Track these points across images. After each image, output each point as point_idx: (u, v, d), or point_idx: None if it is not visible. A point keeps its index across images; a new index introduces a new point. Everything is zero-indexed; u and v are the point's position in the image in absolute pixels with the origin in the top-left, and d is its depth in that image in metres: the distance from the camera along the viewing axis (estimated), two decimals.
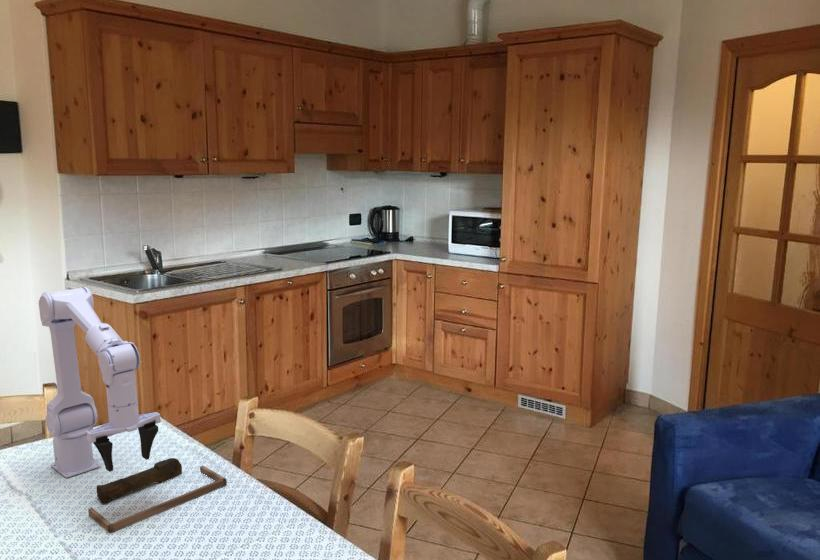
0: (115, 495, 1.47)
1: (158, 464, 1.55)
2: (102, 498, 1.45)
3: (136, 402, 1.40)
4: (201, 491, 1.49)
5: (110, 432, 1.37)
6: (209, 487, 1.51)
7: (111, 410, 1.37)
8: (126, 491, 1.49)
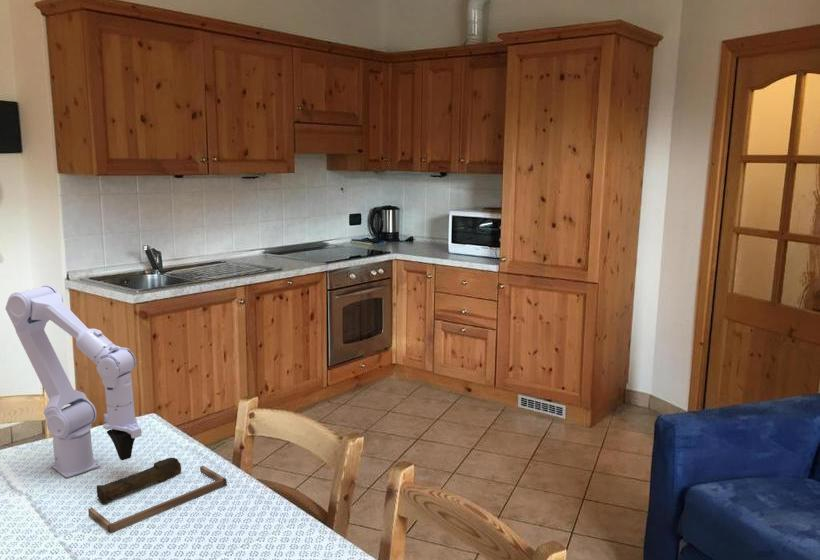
0: (115, 495, 1.47)
1: (158, 464, 1.55)
2: (103, 498, 1.45)
3: (115, 407, 1.52)
4: (201, 491, 1.49)
5: (106, 421, 1.57)
6: (209, 487, 1.51)
7: None
8: (126, 491, 1.49)
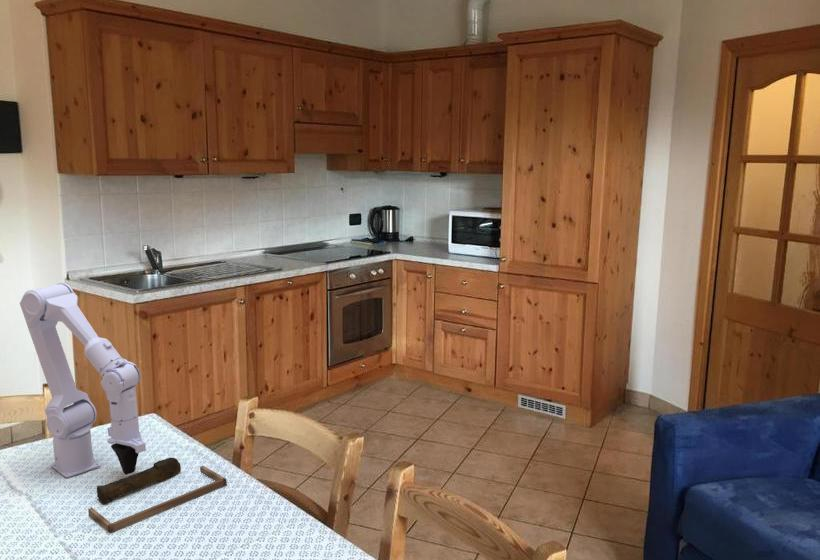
0: (116, 495, 1.47)
1: (157, 464, 1.55)
2: (103, 498, 1.45)
3: (120, 421, 1.52)
4: (201, 491, 1.49)
5: (110, 435, 1.56)
6: (209, 487, 1.51)
7: None
8: (126, 491, 1.49)
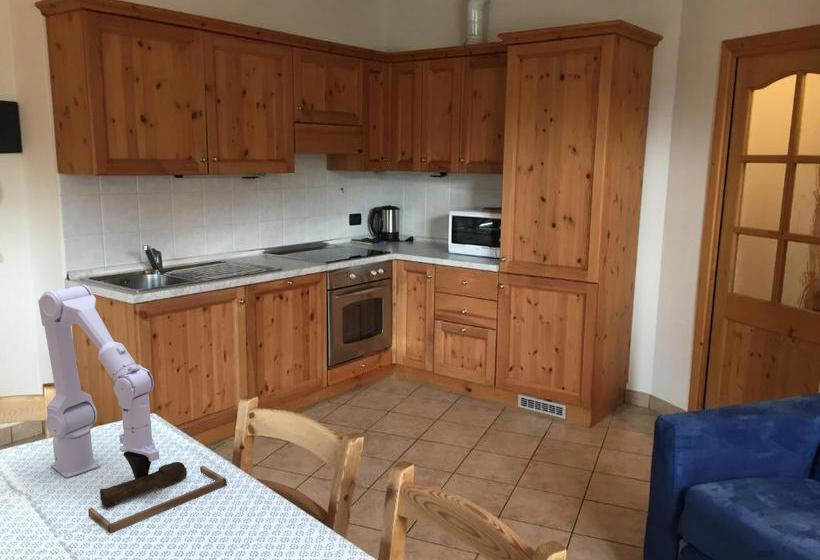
0: (118, 499, 1.45)
1: (163, 468, 1.53)
2: (105, 502, 1.43)
3: (132, 429, 1.48)
4: (201, 491, 1.49)
5: (122, 442, 1.52)
6: (209, 487, 1.51)
7: None
8: (130, 495, 1.47)
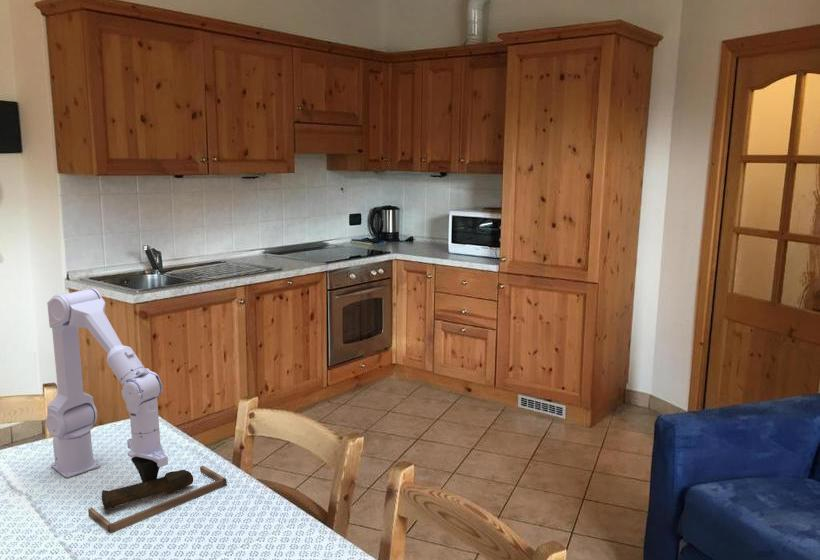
0: (118, 504, 1.43)
1: (168, 476, 1.49)
2: (104, 506, 1.42)
3: (141, 434, 1.45)
4: (201, 491, 1.49)
5: (130, 447, 1.50)
6: (209, 487, 1.51)
7: None
8: (130, 501, 1.45)
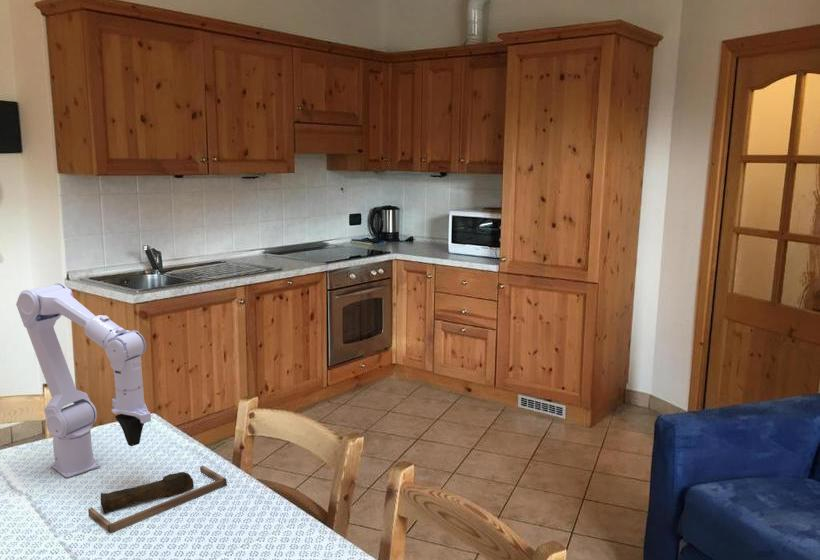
0: (117, 505, 1.43)
1: (167, 477, 1.49)
2: (102, 507, 1.42)
3: (124, 391, 1.48)
4: (201, 491, 1.49)
5: (115, 405, 1.53)
6: (209, 487, 1.51)
7: None
8: (129, 502, 1.44)
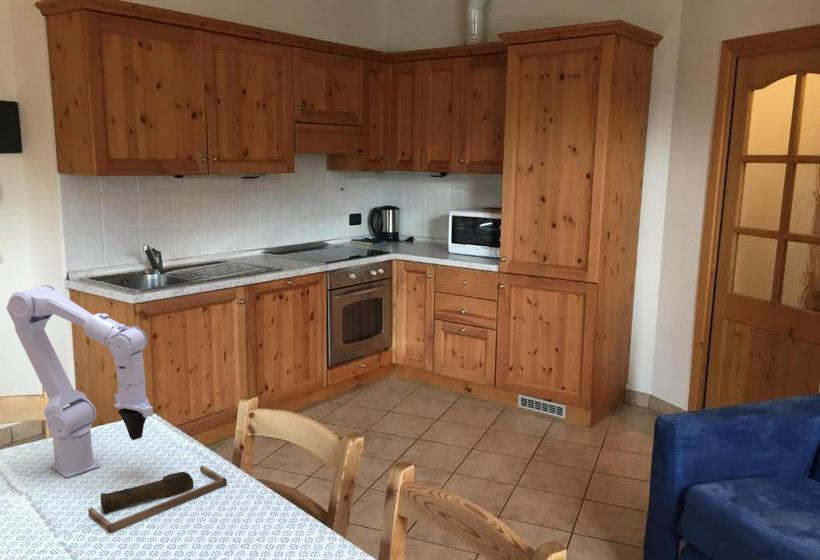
0: (117, 505, 1.43)
1: (167, 477, 1.49)
2: (103, 507, 1.42)
3: (127, 386, 1.51)
4: (201, 491, 1.49)
5: (117, 400, 1.56)
6: (209, 487, 1.51)
7: None
8: (129, 502, 1.44)
